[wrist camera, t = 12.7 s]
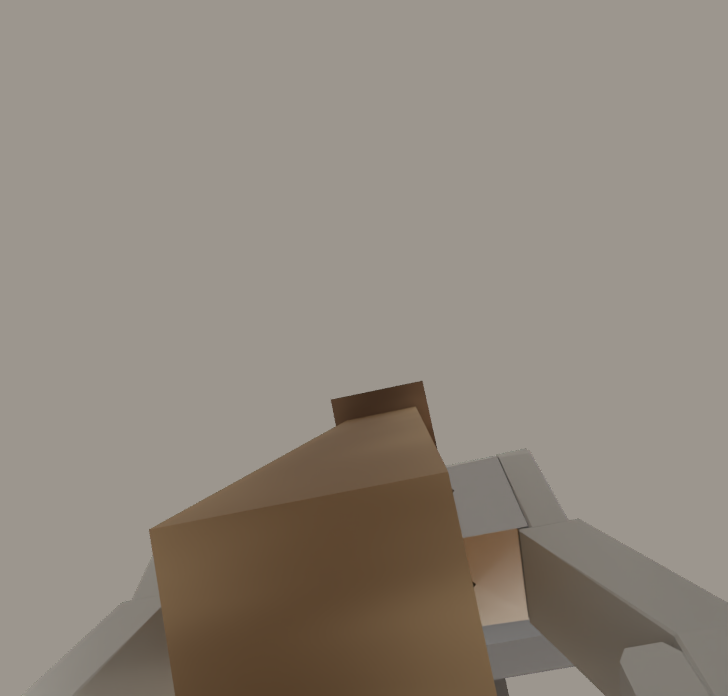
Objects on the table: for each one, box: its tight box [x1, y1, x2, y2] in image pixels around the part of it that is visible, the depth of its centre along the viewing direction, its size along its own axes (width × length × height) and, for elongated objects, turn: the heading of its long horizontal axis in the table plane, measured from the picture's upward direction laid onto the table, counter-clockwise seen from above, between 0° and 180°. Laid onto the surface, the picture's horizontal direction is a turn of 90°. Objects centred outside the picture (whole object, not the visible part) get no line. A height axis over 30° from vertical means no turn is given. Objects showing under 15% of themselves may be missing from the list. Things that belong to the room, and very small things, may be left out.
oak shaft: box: [149, 381, 497, 696], centre depth 15 cm, size 4×20×4 cm, turn 175°
